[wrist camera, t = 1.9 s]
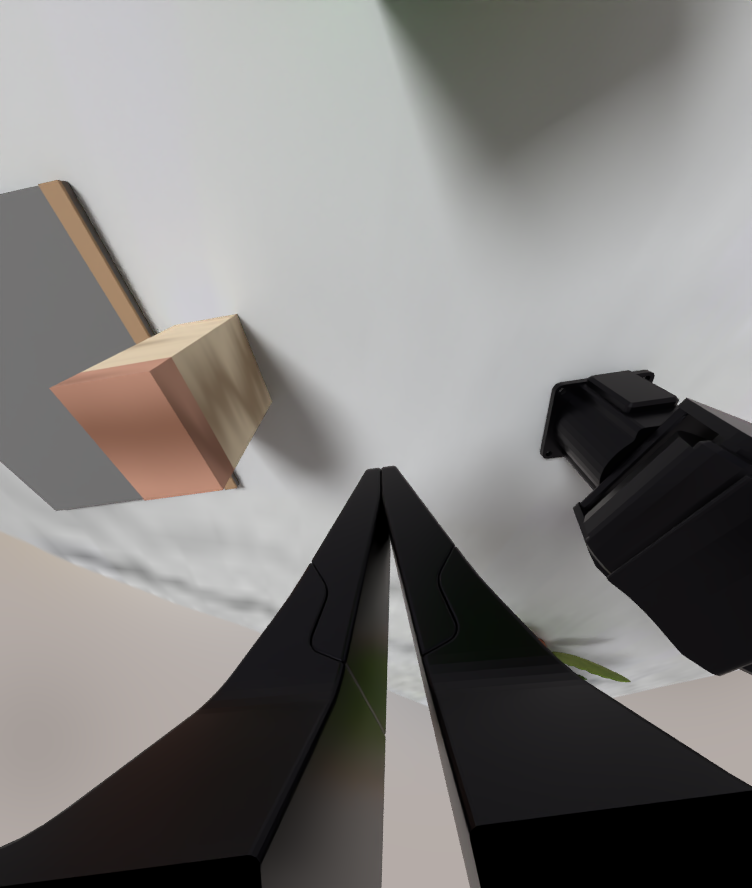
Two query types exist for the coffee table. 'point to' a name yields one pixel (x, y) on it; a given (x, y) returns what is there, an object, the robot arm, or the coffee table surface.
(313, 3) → the coffee table surface
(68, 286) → the mat
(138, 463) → the maple block
